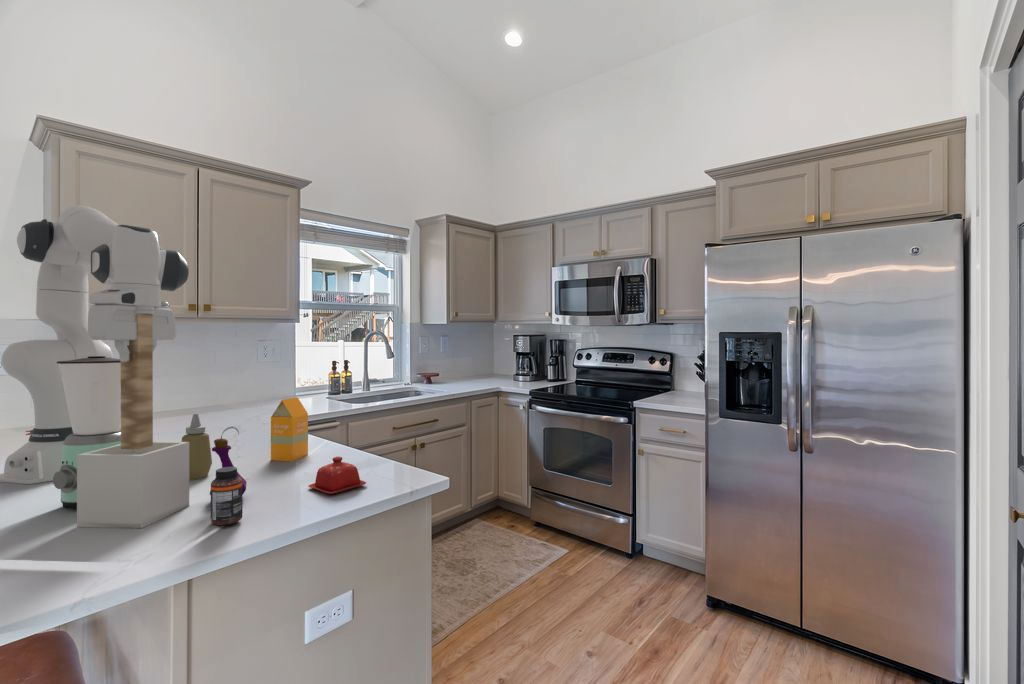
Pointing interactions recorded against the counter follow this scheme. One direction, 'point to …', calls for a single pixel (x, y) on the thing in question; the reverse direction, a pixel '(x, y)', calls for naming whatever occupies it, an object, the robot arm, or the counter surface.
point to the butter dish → (337, 477)
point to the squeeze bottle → (198, 449)
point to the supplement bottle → (226, 497)
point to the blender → (88, 415)
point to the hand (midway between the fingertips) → (136, 361)
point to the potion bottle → (226, 455)
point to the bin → (132, 485)
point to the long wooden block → (138, 388)
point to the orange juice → (289, 431)
